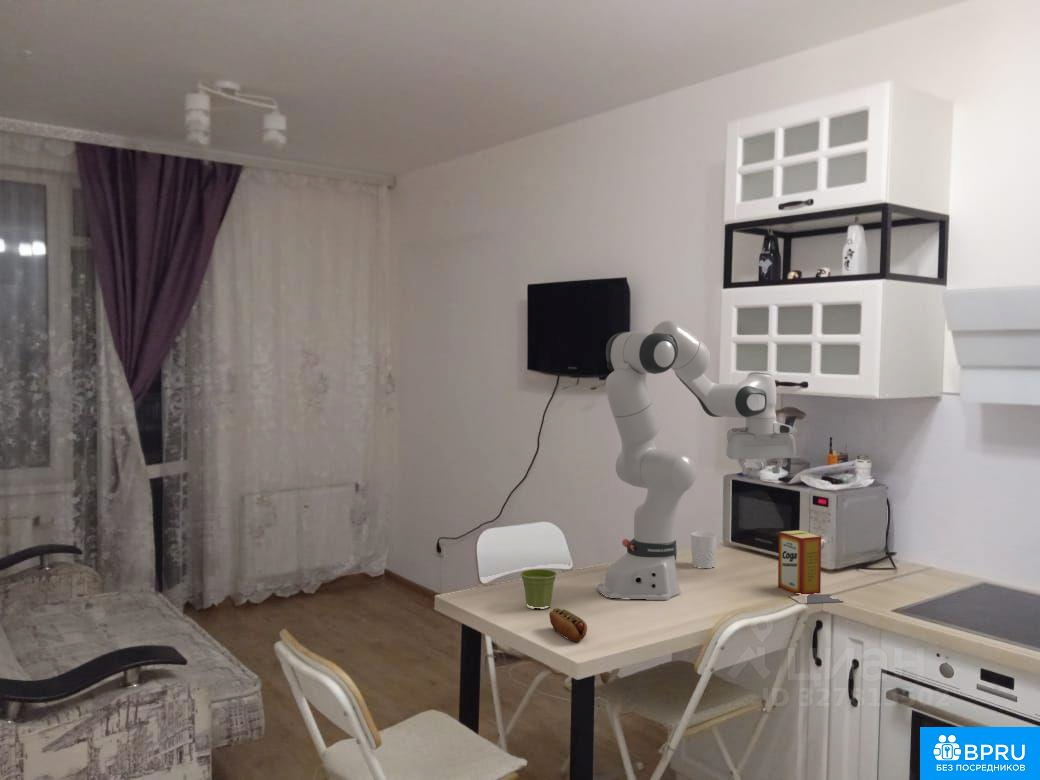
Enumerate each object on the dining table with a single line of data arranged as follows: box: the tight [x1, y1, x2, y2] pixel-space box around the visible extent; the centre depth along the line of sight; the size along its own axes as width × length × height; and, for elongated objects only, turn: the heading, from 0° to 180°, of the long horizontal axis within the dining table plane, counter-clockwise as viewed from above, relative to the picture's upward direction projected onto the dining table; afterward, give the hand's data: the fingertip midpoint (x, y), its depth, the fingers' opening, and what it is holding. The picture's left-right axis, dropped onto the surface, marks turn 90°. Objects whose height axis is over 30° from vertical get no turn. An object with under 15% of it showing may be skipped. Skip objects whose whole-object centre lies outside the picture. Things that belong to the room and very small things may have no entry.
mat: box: [806, 593, 844, 605], centre depth 221 cm, size 12×7×1 cm, turn 99°
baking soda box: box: [777, 529, 822, 595], centre depth 229 cm, size 10×6×16 cm
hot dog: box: [548, 607, 588, 642], centre depth 191 cm, size 5×13×5 cm, turn 24°
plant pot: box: [520, 568, 558, 607], centre depth 213 cm, size 9×9×9 cm
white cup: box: [690, 531, 718, 569], centre depth 257 cm, size 8×8×10 cm
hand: (760, 473), depth 247 cm, fingers open, 8 cm apart
